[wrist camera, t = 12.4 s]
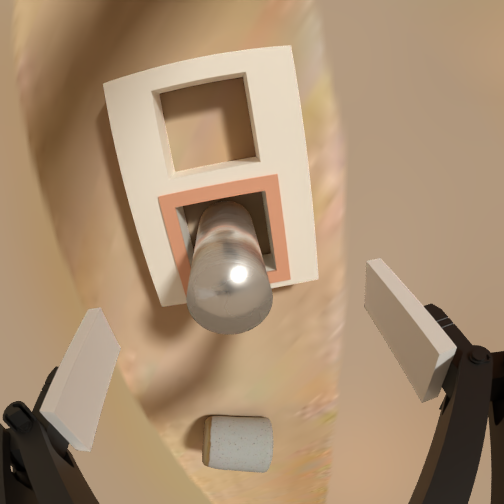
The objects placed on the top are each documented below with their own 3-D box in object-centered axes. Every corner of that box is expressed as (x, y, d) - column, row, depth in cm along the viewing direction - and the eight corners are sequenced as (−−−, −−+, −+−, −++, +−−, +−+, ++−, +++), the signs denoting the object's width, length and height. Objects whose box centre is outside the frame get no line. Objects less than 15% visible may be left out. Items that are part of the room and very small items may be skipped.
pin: (218, 190, 25) (216, 245, 15) (263, 219, 26) (289, 289, 16) (188, 233, 26) (171, 310, 16) (232, 259, 27) (240, 345, 17)
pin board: (116, 86, 20) (101, 83, 17) (282, 53, 20) (291, 44, 17) (167, 288, 28) (161, 308, 25) (309, 262, 28) (319, 280, 25)
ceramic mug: (204, 403, 35) (204, 456, 28) (269, 406, 36) (278, 456, 29) (201, 443, 39) (201, 487, 32) (255, 445, 41) (261, 488, 34)
